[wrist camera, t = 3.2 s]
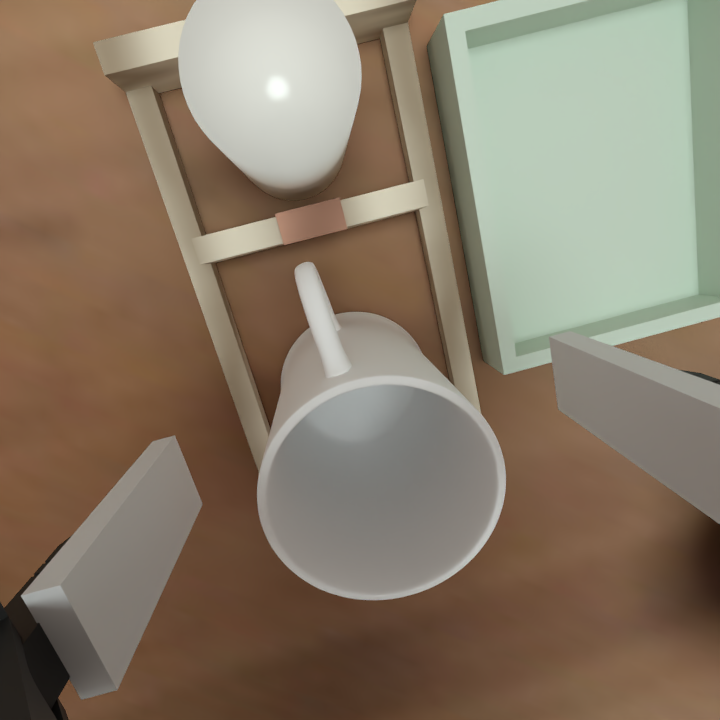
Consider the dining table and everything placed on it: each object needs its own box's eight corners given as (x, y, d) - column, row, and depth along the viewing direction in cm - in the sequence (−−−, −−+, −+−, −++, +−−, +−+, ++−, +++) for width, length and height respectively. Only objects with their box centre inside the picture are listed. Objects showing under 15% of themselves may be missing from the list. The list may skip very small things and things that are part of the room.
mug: (243, 276, 23) (167, 302, 12) (396, 235, 24) (471, 222, 12) (304, 466, 26) (293, 636, 15) (439, 429, 27) (532, 568, 15)
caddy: (277, 512, 27) (271, 548, 24) (124, 71, 20) (87, 37, 17) (484, 455, 27) (507, 483, 24) (398, 4, 21) (412, -42, 18)
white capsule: (254, 212, 23) (213, 188, 14) (220, 96, 21) (150, -11, 12) (356, 186, 23) (379, 146, 14) (329, 69, 21) (335, -55, 13)
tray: (483, 360, 26) (504, 375, 23) (426, 46, 21) (443, 14, 18) (700, 302, 26) (748, 309, 23) (688, -20, 22) (745, -61, 19)
